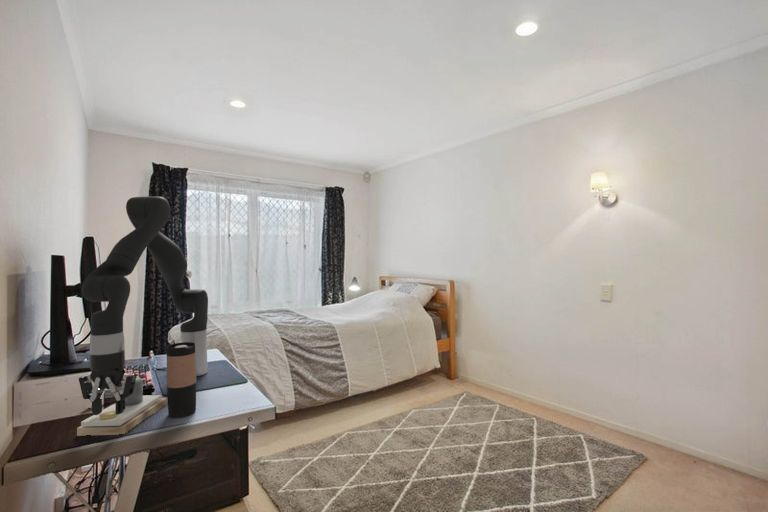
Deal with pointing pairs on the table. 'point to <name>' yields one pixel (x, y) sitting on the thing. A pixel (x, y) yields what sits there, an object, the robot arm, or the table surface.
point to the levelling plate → (132, 408)
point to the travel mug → (181, 379)
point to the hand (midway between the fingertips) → (108, 413)
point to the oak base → (125, 426)
